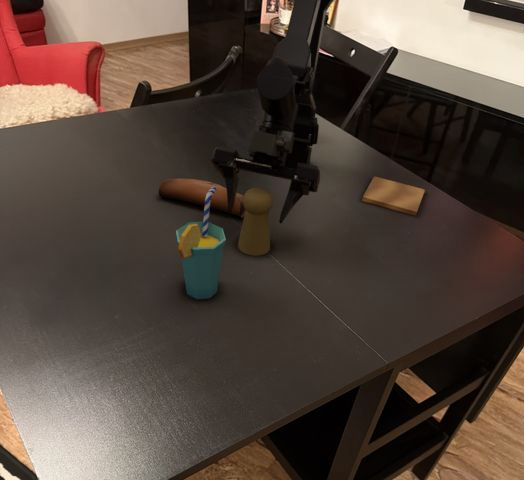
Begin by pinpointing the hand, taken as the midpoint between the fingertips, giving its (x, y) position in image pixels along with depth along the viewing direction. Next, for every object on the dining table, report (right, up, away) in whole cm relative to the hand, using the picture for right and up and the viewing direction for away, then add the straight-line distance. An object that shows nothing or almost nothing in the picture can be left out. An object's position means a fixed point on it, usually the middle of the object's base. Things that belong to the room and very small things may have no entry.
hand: (254, 217), depth 84 cm
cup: (-9, -13, -3) cm, 16 cm away
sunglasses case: (-10, +8, +16) cm, 20 cm away
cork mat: (+31, +11, +23) cm, 40 cm away
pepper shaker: (0, -4, +6) cm, 7 cm away
